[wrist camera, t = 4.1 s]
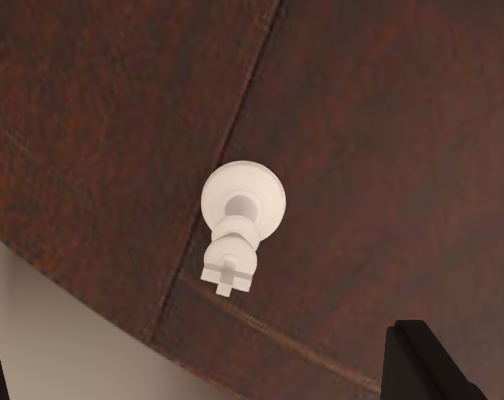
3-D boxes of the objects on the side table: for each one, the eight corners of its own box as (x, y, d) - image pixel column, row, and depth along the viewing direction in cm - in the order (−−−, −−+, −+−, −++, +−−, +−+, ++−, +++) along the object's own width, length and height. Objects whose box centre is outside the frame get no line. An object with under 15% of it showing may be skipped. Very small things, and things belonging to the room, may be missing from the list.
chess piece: (213, 149, 21) (166, 198, 11) (296, 174, 21) (321, 242, 11) (193, 228, 22) (135, 331, 12) (271, 250, 22) (274, 369, 13)
